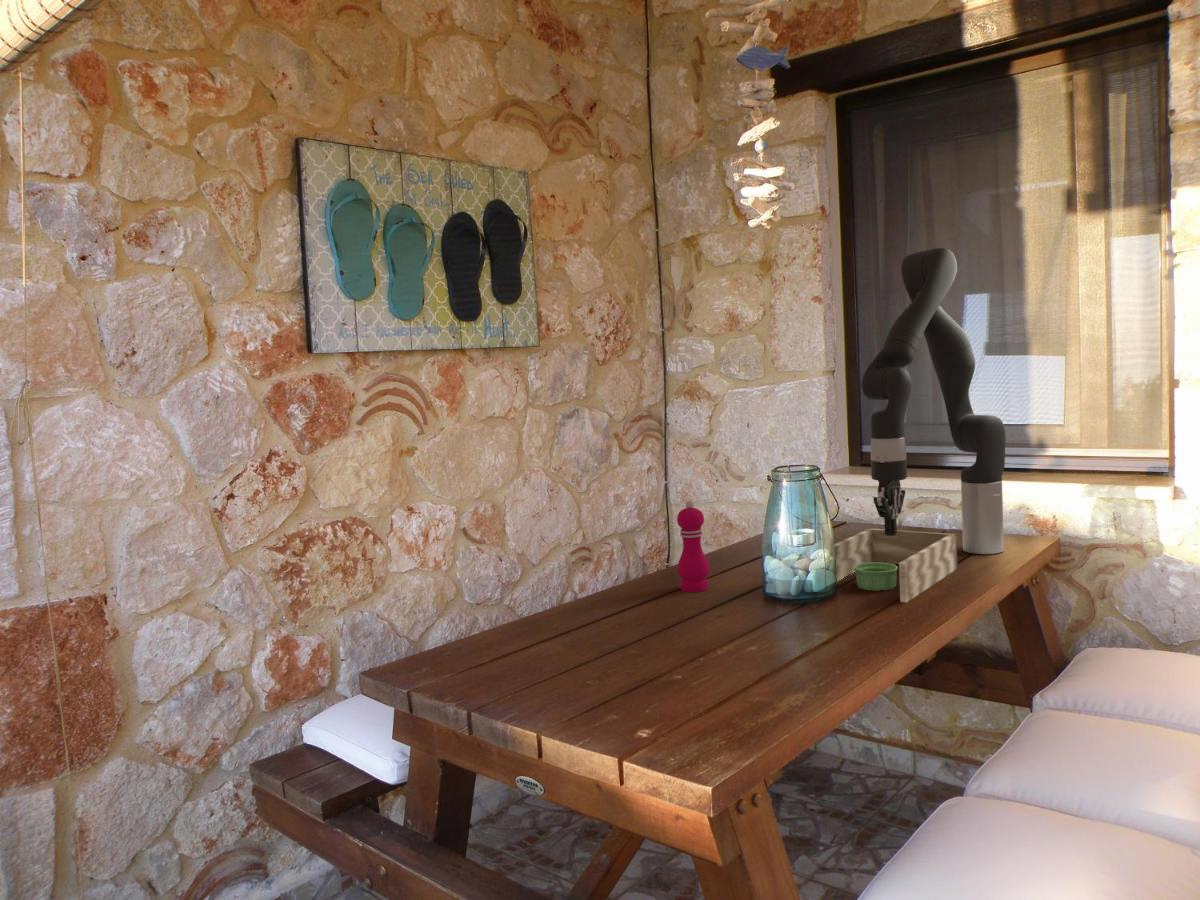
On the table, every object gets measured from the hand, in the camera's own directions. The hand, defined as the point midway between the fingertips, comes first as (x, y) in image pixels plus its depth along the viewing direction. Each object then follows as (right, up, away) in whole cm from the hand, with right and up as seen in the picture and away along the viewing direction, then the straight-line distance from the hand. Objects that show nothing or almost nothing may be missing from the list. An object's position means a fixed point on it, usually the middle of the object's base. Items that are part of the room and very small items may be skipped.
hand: (890, 535), depth 203 cm
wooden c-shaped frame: (-1, -10, -2) cm, 10 cm away
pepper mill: (-44, -12, +2) cm, 45 cm away
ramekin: (-5, -11, -6) cm, 14 cm away
